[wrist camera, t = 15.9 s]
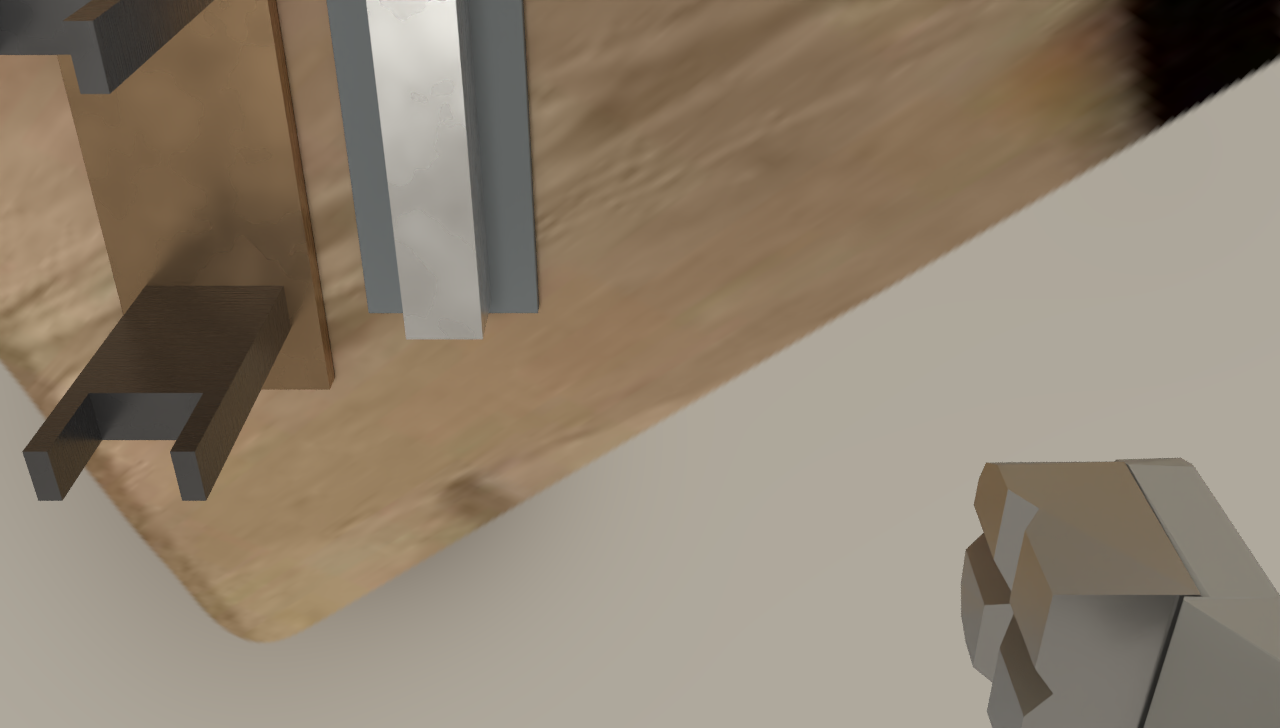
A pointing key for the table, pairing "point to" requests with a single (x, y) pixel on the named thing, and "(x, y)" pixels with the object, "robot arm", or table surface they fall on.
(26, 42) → the rack
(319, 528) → the table surface
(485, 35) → the mat
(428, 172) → the rail
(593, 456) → the table surface
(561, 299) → the table surface
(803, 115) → the table surface
